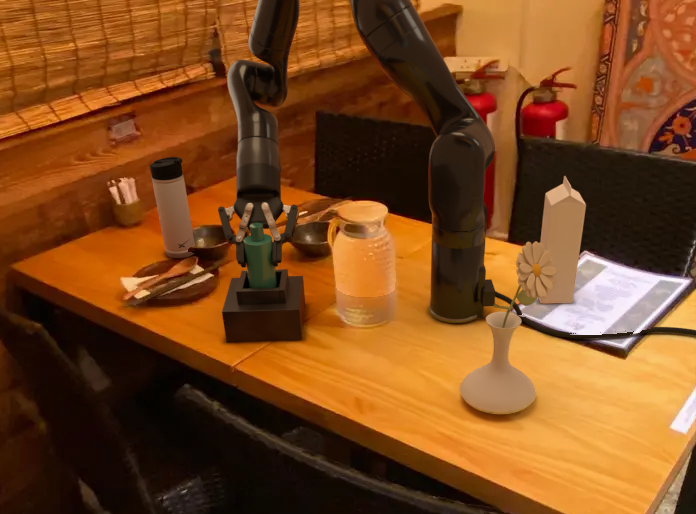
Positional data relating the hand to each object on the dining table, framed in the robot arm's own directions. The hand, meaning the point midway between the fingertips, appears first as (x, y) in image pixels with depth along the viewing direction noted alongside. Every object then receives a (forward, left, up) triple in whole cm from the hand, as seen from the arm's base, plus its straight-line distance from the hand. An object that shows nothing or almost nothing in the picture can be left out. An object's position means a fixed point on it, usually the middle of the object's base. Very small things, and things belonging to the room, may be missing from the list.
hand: (259, 265), depth 131 cm
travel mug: (+21, -34, -12) cm, 42 cm away
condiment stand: (0, -2, -12) cm, 12 cm away
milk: (-53, -9, -12) cm, 55 cm away
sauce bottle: (0, -2, -6) cm, 6 cm away
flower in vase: (-38, +24, -12) cm, 47 cm away
